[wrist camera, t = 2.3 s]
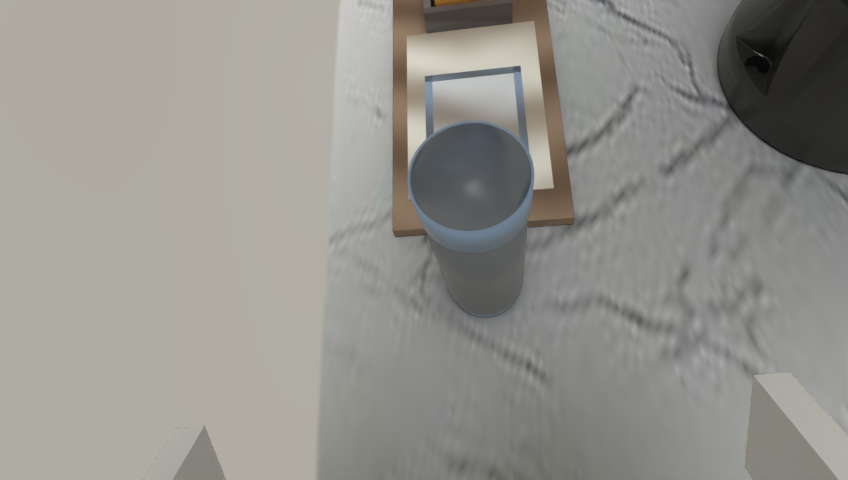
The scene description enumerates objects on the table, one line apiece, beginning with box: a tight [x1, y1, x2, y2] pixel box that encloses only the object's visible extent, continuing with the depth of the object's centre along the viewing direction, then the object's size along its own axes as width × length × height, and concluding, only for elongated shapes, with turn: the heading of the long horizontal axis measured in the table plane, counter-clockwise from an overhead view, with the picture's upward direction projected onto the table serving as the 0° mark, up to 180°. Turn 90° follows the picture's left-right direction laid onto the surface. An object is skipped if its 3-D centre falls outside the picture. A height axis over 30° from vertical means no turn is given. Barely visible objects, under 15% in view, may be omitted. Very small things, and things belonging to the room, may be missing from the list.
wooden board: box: [393, 0, 575, 237], centre depth 36 cm, size 22×11×3 cm, turn 1°
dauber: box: [407, 121, 534, 317], centre depth 26 cm, size 5×5×14 cm
